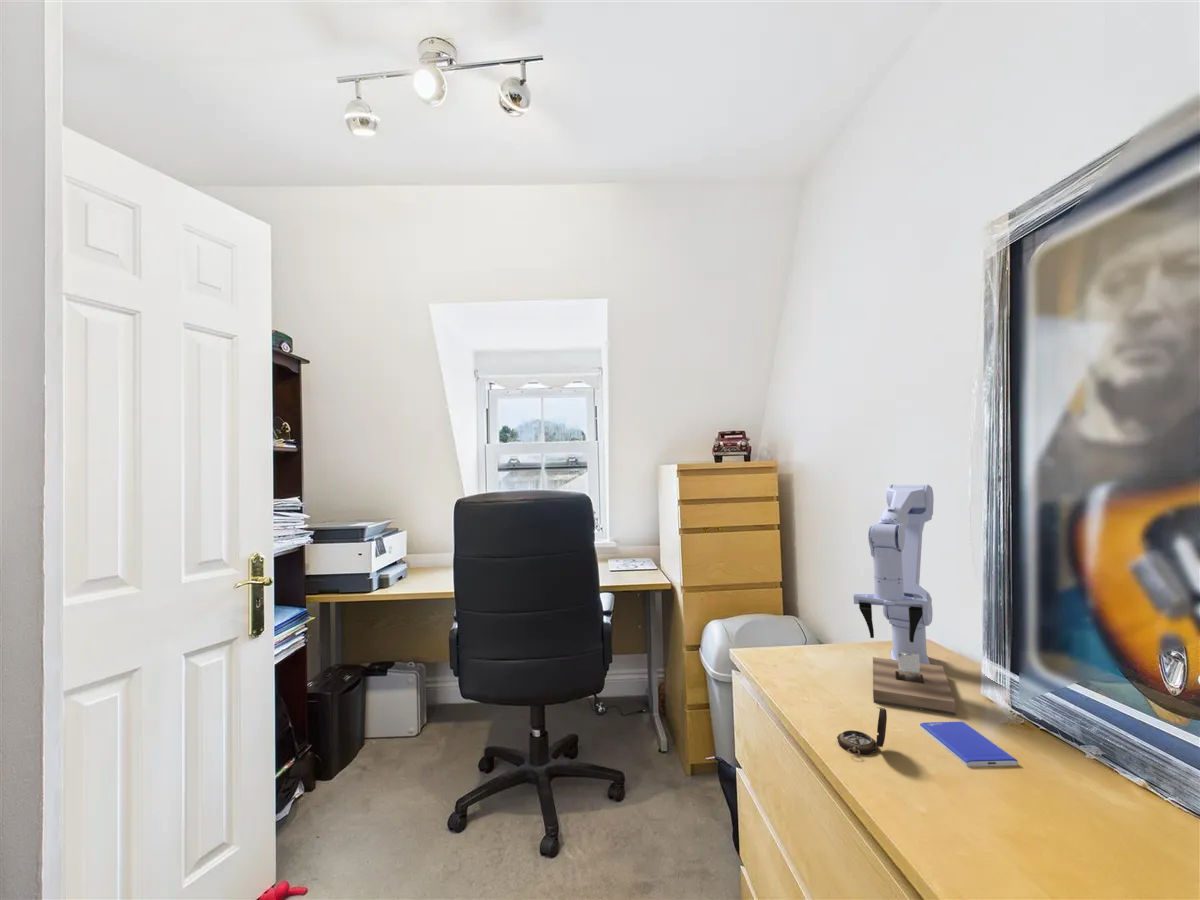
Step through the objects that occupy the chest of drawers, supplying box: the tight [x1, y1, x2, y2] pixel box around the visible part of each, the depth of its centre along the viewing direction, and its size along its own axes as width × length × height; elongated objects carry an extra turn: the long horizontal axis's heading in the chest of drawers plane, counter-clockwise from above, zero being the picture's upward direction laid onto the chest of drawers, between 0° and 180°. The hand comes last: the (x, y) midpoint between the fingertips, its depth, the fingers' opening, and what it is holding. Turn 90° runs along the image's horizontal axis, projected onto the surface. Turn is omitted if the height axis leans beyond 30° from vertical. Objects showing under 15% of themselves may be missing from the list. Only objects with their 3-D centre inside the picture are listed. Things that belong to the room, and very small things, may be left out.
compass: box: [836, 706, 888, 756], centre depth 89 cm, size 8×8×7 cm
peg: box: [898, 650, 921, 683], centre depth 112 cm, size 4×4×7 cm
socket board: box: [872, 656, 957, 716], centre depth 112 cm, size 20×14×2 cm
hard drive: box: [919, 720, 1019, 767], centre depth 90 cm, size 2×8×12 cm
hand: (891, 638), depth 117 cm, fingers open, 7 cm apart
